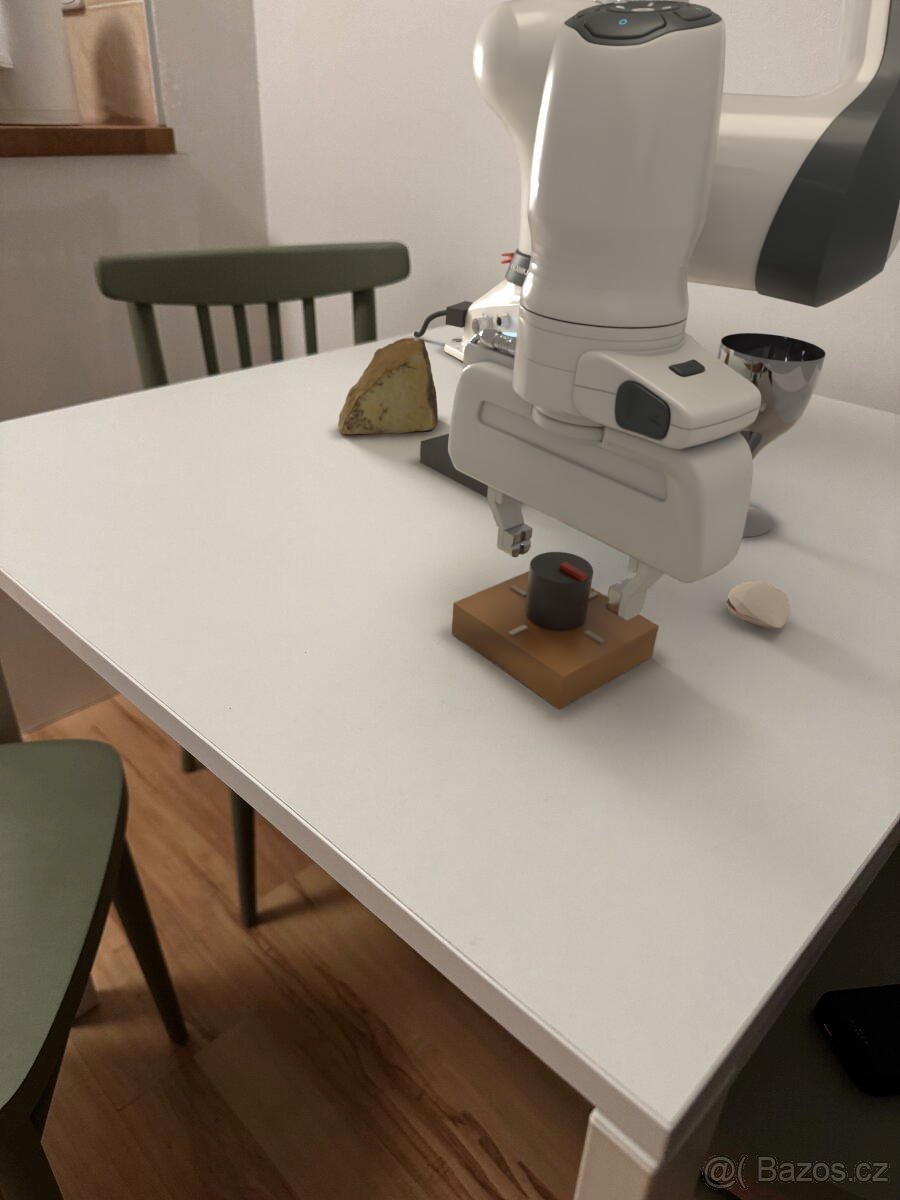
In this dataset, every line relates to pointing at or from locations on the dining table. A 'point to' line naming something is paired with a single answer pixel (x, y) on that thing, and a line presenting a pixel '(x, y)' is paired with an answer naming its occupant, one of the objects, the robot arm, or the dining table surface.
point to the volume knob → (558, 590)
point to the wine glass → (772, 391)
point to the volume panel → (552, 642)
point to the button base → (447, 463)
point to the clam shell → (759, 604)
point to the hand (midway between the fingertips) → (565, 580)
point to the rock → (393, 393)
